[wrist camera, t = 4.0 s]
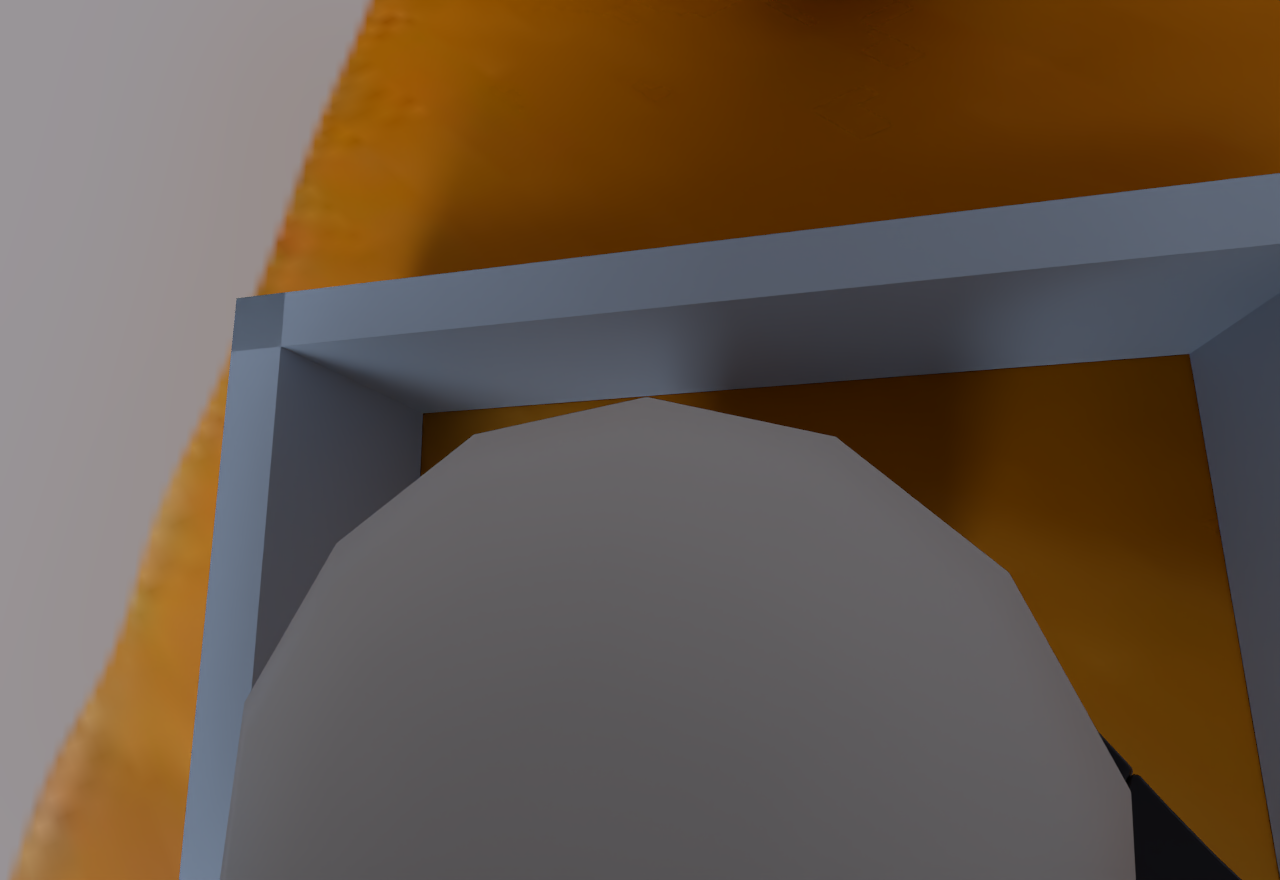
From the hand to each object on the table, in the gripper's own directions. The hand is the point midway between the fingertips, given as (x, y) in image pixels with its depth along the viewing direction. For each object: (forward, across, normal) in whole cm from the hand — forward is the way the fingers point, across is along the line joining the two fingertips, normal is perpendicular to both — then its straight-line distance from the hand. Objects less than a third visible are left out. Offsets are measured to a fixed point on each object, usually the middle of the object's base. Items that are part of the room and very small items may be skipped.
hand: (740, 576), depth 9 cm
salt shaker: (+4, 0, +6) cm, 7 cm away
